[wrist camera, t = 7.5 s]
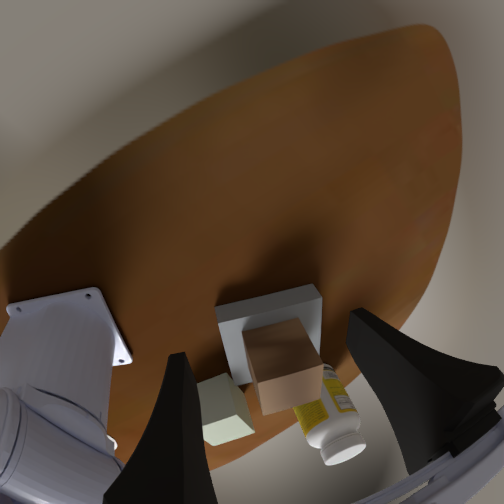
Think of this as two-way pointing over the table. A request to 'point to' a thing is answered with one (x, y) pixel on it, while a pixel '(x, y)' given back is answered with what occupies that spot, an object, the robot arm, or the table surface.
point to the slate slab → (266, 321)
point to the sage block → (223, 410)
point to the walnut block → (283, 365)
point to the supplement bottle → (331, 421)
